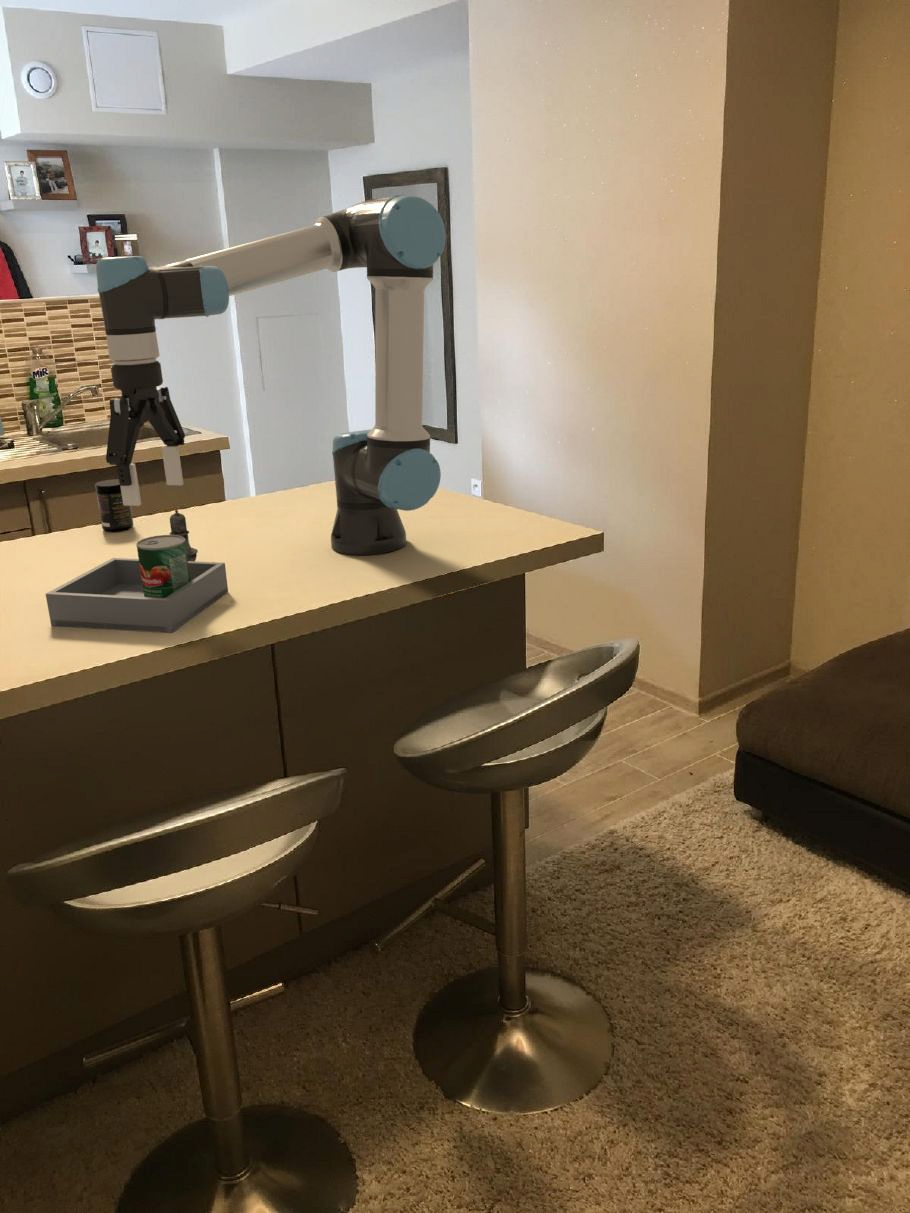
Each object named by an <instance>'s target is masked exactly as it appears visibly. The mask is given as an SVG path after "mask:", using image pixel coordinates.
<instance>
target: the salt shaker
mask: <svg viewBox="0 0 910 1213" xmlns="http://www.w3.org/2000/svg"><path fill="white" fill-rule="evenodd" d="M174 512H175V513H174V514H172V515H170V517H169V524H170V532H169V535H178V536H182V537H184V538H185V544H186V552H187V558H188V561H197V554H198V552H199V550H198V549H197V548H193V547H191V544H190V540H189V534H190V531H189V530H188V529H187V528H188V527H187V521H186V517H185V515H184V514H183V513H180V512H179V510H178V509H177V508H175V510H174Z"/></svg>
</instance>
